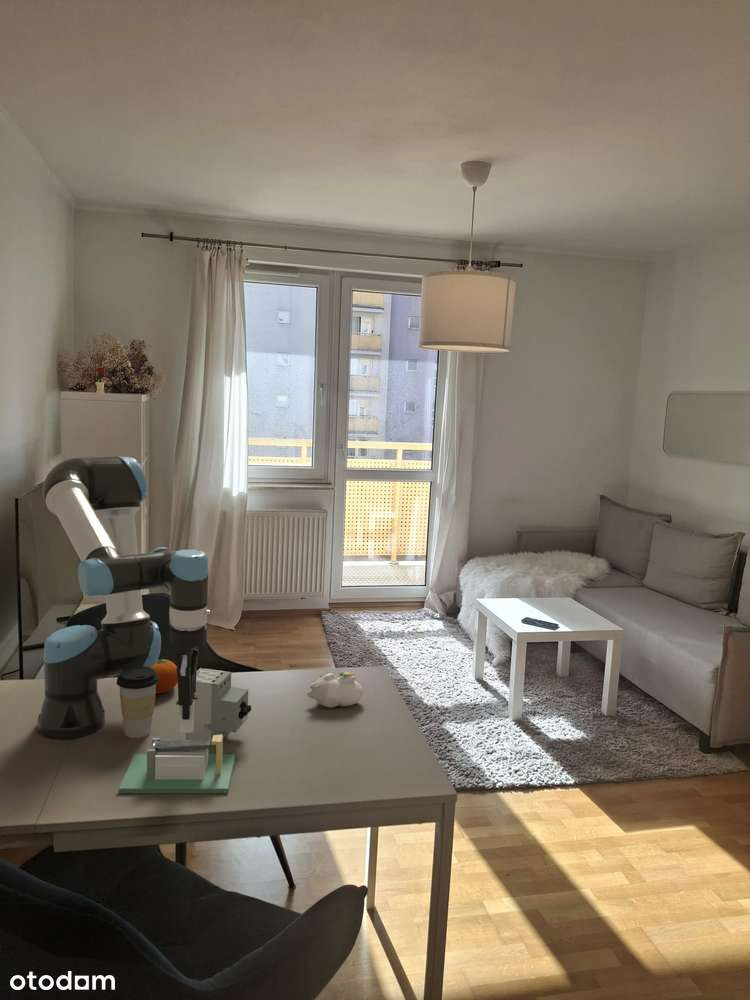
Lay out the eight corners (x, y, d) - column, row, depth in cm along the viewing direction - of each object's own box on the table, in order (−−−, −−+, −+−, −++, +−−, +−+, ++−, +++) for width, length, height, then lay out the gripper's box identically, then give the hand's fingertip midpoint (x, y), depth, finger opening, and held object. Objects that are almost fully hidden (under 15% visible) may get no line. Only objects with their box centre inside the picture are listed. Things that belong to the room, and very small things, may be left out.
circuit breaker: (242, 749, 170) (243, 687, 168) (184, 740, 173) (185, 679, 170) (253, 734, 177) (255, 675, 175) (198, 725, 180) (199, 667, 178)
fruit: (156, 702, 192) (156, 673, 191) (130, 691, 197) (130, 663, 196) (187, 689, 201) (187, 661, 200) (161, 679, 206) (161, 652, 205)
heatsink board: (118, 793, 150) (118, 754, 148) (135, 758, 164) (135, 722, 162) (228, 793, 152) (228, 754, 150) (235, 758, 166) (235, 723, 164)
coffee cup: (135, 745, 169) (135, 684, 167) (108, 733, 174) (107, 673, 171) (166, 730, 177) (167, 671, 174) (140, 719, 182) (140, 661, 179)
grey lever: (149, 753, 155) (148, 747, 154) (152, 745, 158) (152, 740, 158) (209, 749, 156) (209, 744, 155) (211, 742, 159) (211, 737, 159)
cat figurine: (365, 667, 198) (311, 665, 193) (370, 693, 192) (315, 691, 187) (355, 689, 203) (302, 687, 198) (360, 714, 197) (306, 713, 192)
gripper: (202, 636, 146) (200, 746, 150) (211, 615, 159) (208, 716, 163) (163, 635, 146) (162, 745, 150) (175, 614, 159) (174, 716, 163)
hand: (186, 730), depth 156 cm, fingers closed
